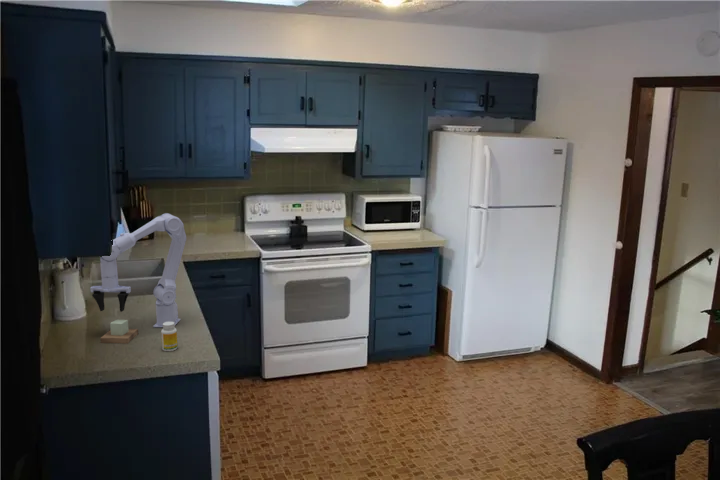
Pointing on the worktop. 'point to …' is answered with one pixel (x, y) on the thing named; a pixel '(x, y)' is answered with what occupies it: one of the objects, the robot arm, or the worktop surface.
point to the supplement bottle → (169, 336)
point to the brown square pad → (119, 337)
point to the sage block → (119, 327)
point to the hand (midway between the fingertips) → (112, 310)
